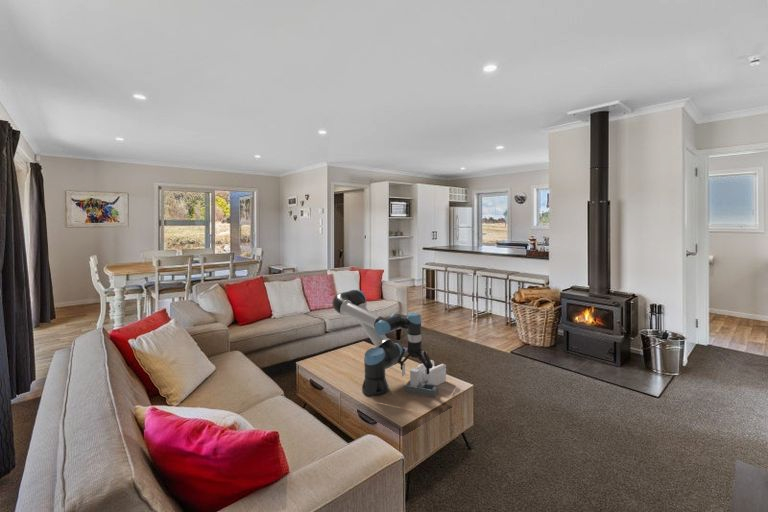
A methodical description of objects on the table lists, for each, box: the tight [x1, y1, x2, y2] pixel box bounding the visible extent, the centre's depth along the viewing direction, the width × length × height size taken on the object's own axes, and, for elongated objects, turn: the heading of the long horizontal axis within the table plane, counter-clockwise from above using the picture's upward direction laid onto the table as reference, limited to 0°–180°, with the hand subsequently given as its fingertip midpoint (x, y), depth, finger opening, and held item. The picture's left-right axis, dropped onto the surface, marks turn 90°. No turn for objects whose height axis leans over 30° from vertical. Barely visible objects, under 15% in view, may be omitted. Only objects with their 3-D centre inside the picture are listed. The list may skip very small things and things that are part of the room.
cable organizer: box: [416, 359, 447, 386], centre depth 217 cm, size 15×11×12 cm
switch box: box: [404, 379, 439, 398], centre depth 207 cm, size 17×7×4 cm, turn 65°
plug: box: [409, 367, 419, 387], centre depth 208 cm, size 4×5×12 cm
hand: (414, 377), depth 208 cm, fingers open, 13 cm apart
